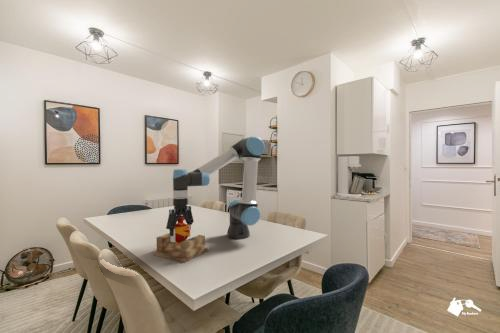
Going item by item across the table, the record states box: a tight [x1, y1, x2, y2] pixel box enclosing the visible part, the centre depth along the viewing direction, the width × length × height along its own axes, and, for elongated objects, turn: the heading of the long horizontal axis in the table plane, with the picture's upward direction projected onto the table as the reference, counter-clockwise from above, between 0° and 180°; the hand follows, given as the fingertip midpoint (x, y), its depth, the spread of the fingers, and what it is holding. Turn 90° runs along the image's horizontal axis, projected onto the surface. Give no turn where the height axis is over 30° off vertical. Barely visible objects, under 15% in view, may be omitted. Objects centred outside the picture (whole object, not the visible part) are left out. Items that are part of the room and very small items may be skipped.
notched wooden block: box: [152, 232, 209, 264], centre depth 128 cm, size 18×22×9 cm
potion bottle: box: [174, 215, 191, 246], centre depth 128 cm, size 10×10×15 cm
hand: (180, 238), depth 128 cm, fingers closed on potion bottle, 10 cm apart
